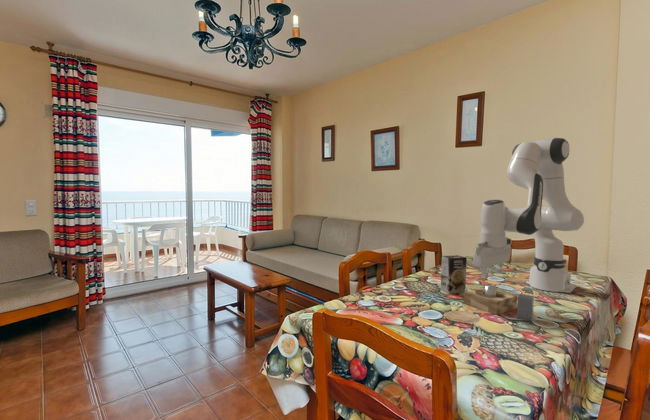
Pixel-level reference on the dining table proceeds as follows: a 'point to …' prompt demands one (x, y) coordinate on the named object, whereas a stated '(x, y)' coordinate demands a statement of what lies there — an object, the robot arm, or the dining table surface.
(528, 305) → the square bit
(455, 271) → the coffee box
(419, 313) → the dining table surface
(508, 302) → the bore block
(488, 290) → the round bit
